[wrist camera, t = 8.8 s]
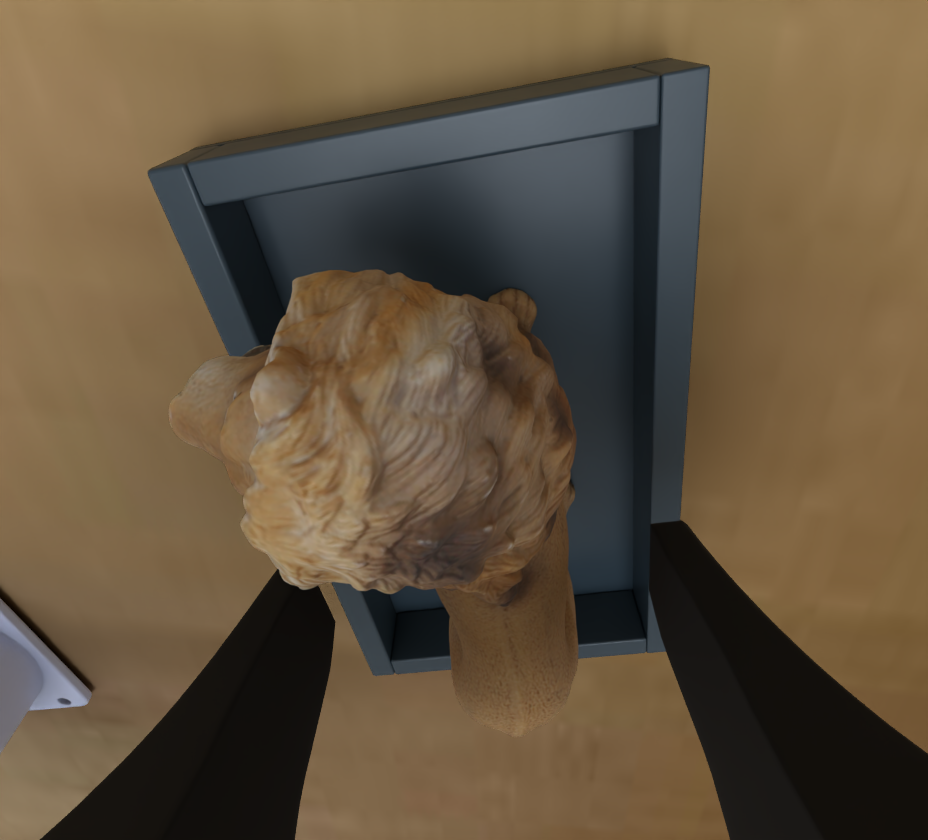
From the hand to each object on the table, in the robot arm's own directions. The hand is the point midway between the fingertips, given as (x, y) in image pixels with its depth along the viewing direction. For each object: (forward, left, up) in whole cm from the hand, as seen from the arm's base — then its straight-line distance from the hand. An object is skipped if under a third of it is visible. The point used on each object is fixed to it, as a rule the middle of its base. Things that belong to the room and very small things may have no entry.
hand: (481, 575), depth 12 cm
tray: (0, 0, -6) cm, 6 cm away
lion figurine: (0, 0, -5) cm, 5 cm away
